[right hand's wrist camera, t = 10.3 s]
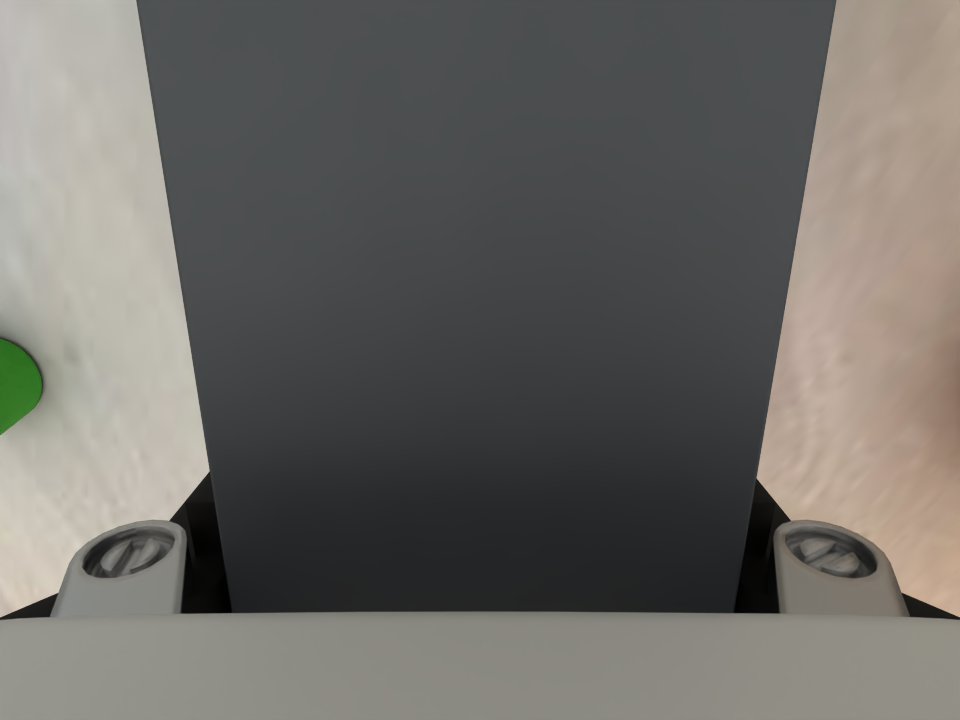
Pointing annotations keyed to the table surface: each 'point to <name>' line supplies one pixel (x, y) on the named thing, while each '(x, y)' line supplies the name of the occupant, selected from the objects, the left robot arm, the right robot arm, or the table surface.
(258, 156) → the post
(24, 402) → the potted flower
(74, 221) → the table surface
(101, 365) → the table surface
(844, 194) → the table surface
